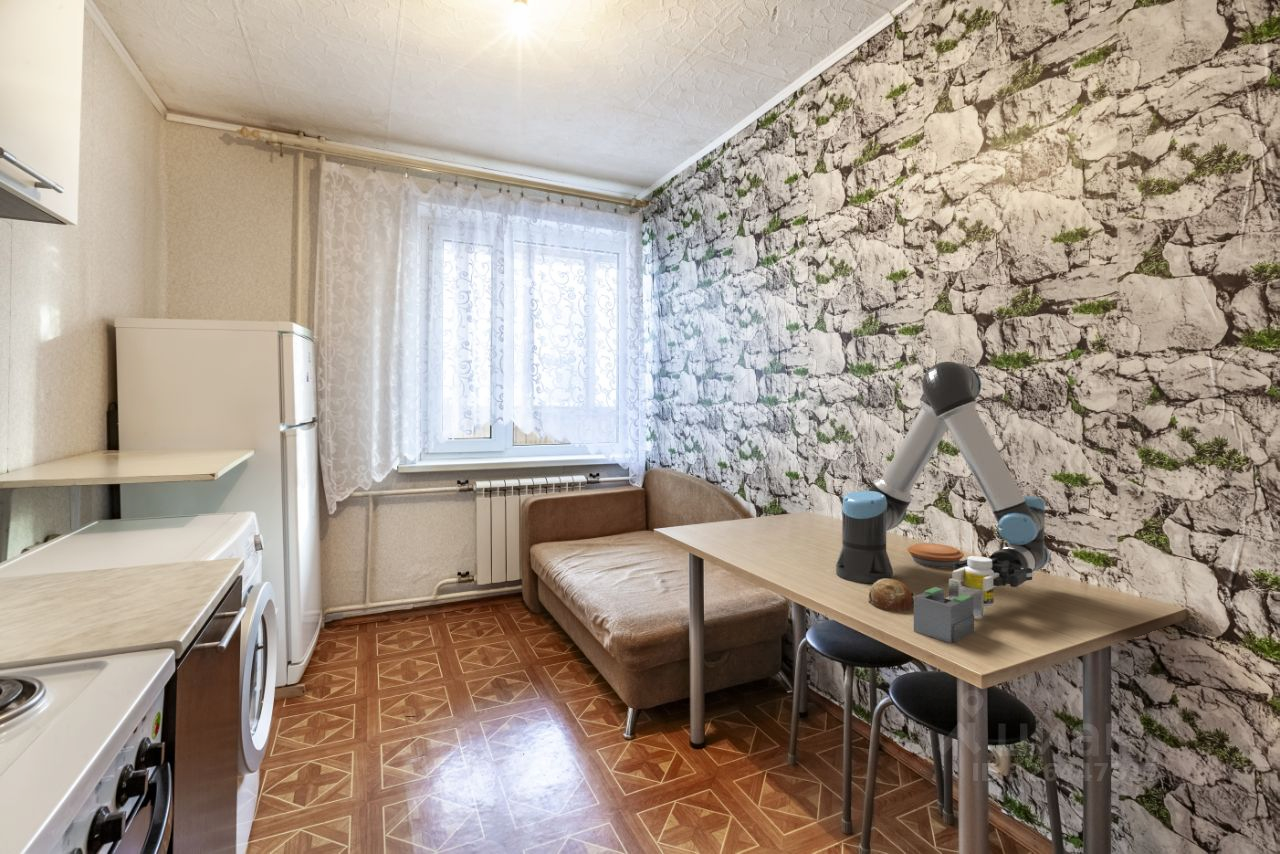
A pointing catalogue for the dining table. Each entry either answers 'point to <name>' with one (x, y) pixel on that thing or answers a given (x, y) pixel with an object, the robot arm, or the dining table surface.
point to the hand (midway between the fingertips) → (969, 581)
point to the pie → (935, 554)
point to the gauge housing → (943, 615)
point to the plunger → (959, 589)
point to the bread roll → (891, 595)
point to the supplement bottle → (979, 576)
